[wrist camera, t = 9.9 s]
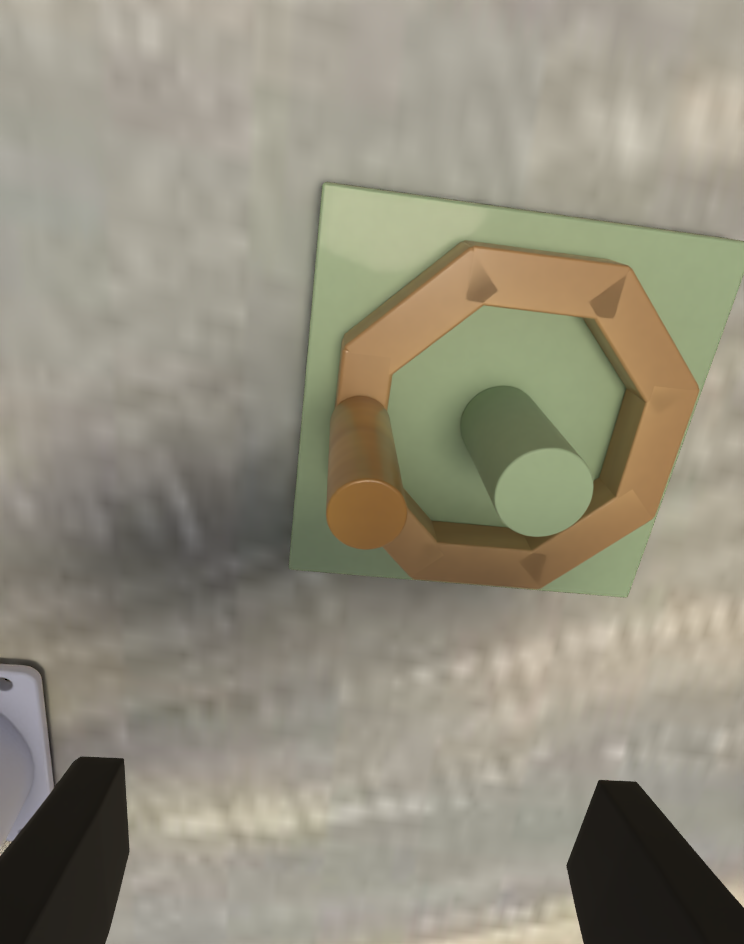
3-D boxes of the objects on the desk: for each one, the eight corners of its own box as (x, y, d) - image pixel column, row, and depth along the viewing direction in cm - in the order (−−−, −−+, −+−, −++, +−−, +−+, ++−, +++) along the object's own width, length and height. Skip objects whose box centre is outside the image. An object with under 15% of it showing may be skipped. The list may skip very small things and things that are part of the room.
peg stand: (291, 547, 19) (275, 671, 14) (323, 180, 15) (315, 185, 10) (612, 575, 20) (696, 699, 15) (727, 238, 16) (892, 265, 11)
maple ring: (315, 547, 18) (305, 699, 13) (349, 224, 14) (354, 253, 9) (610, 572, 18) (712, 724, 13) (711, 272, 15) (901, 323, 10)
